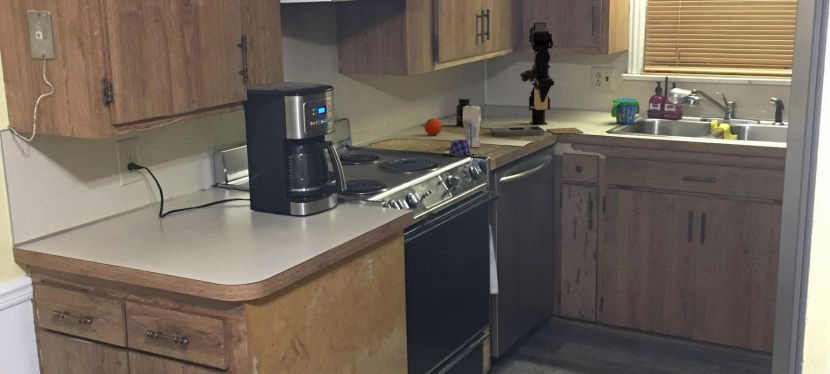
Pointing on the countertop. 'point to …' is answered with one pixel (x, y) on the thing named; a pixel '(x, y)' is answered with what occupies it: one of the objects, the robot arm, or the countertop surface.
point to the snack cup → (625, 110)
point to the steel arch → (517, 131)
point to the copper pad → (564, 131)
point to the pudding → (459, 147)
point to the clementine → (432, 126)
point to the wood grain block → (539, 101)
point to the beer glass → (472, 124)
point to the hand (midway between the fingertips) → (541, 101)
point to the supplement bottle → (461, 110)
